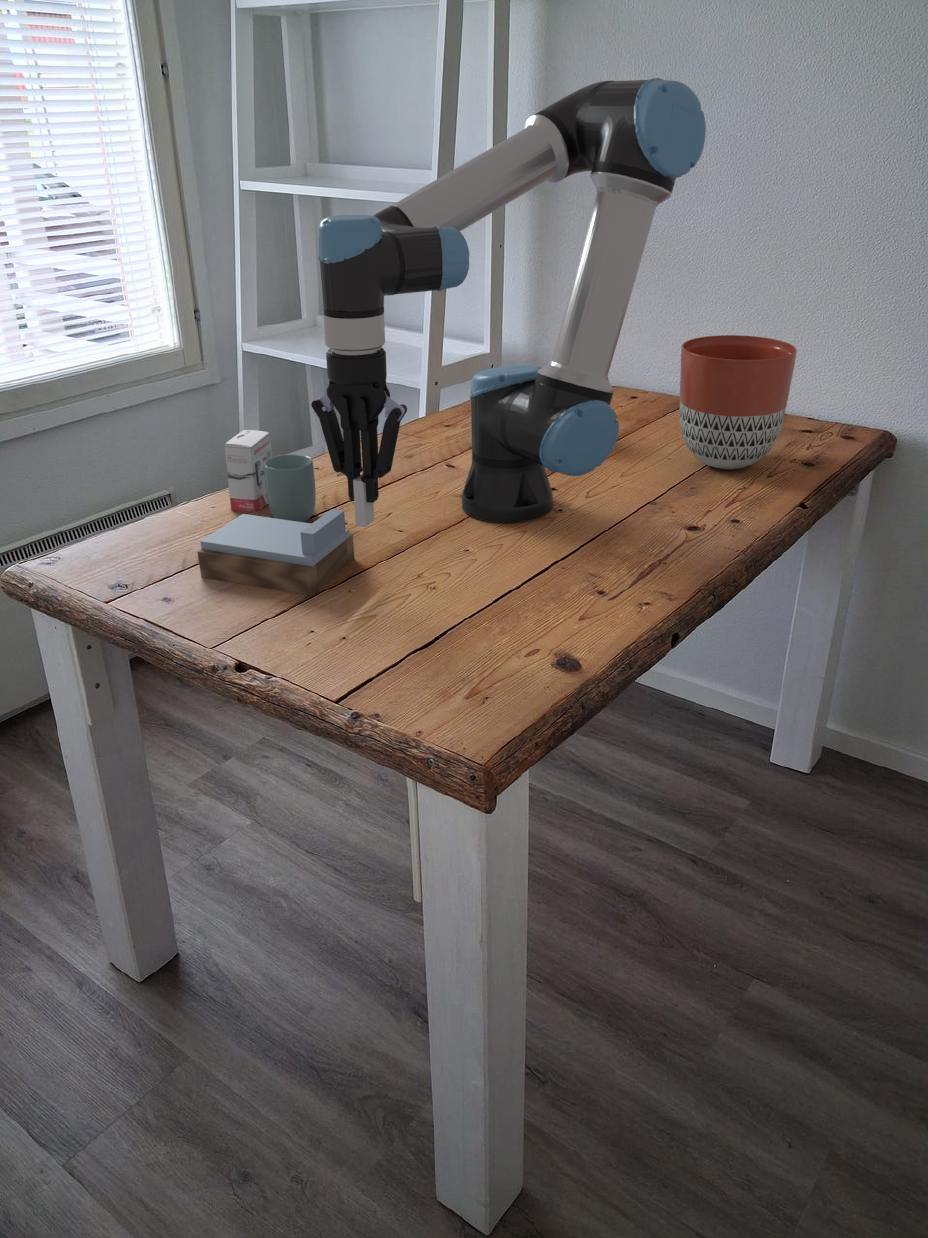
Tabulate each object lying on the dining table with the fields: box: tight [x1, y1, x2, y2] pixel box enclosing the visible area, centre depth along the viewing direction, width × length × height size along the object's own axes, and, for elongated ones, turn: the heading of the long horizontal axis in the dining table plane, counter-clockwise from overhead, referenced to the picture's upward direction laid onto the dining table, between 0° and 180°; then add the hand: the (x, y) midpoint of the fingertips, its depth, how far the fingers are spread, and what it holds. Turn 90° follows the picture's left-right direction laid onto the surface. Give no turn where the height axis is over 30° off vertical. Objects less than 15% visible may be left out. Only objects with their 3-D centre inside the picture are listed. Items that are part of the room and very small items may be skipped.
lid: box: [200, 508, 350, 567], centre depth 143 cm, size 18×11×4 cm, turn 68°
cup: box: [263, 453, 317, 523], centre depth 161 cm, size 8×8×10 cm
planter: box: [679, 334, 798, 470], centre depth 179 cm, size 20×20×21 cm
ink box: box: [224, 429, 273, 513], centre depth 168 cm, size 9×5×12 cm, turn 168°
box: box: [197, 533, 355, 597], centre depth 145 cm, size 18×13×4 cm
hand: (365, 522), depth 137 cm, fingers closed
